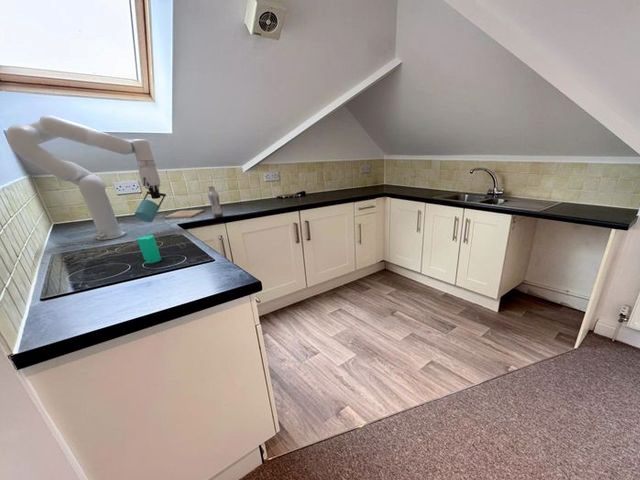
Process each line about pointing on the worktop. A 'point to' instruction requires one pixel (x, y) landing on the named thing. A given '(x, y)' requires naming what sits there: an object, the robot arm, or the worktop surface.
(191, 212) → the board
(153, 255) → the candle
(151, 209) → the bucket
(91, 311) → the worktop surface
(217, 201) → the plastic bottle
